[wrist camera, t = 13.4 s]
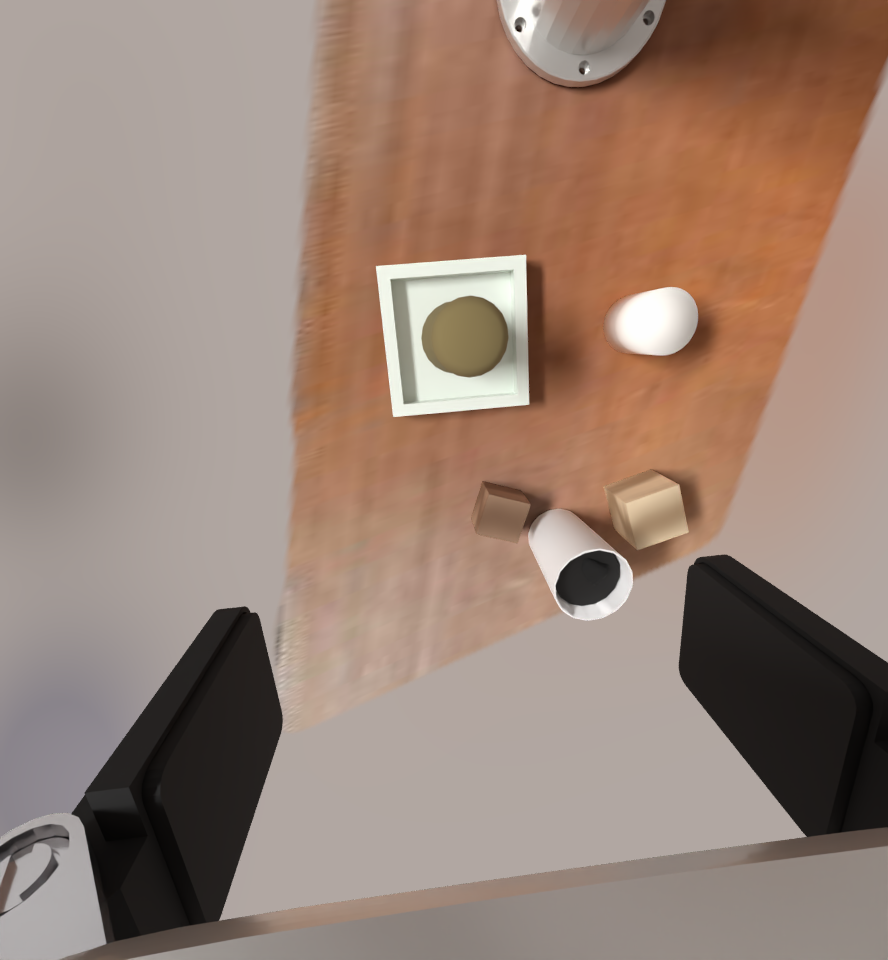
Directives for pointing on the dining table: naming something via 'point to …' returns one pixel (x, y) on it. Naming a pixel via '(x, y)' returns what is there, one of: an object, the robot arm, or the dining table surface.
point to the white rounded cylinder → (651, 322)
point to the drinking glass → (579, 565)
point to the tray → (405, 311)
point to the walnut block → (500, 512)
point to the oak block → (646, 509)
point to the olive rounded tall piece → (465, 336)
